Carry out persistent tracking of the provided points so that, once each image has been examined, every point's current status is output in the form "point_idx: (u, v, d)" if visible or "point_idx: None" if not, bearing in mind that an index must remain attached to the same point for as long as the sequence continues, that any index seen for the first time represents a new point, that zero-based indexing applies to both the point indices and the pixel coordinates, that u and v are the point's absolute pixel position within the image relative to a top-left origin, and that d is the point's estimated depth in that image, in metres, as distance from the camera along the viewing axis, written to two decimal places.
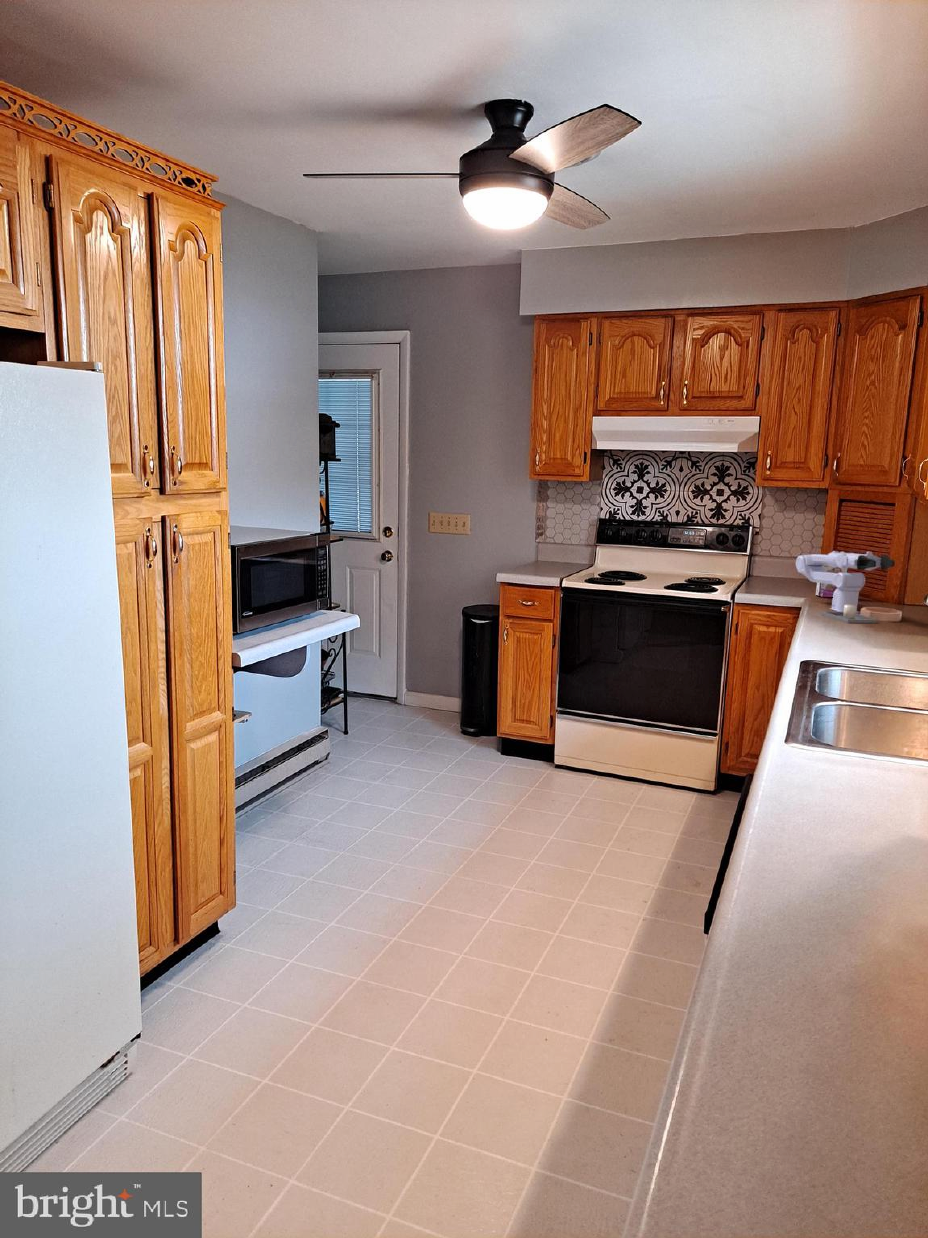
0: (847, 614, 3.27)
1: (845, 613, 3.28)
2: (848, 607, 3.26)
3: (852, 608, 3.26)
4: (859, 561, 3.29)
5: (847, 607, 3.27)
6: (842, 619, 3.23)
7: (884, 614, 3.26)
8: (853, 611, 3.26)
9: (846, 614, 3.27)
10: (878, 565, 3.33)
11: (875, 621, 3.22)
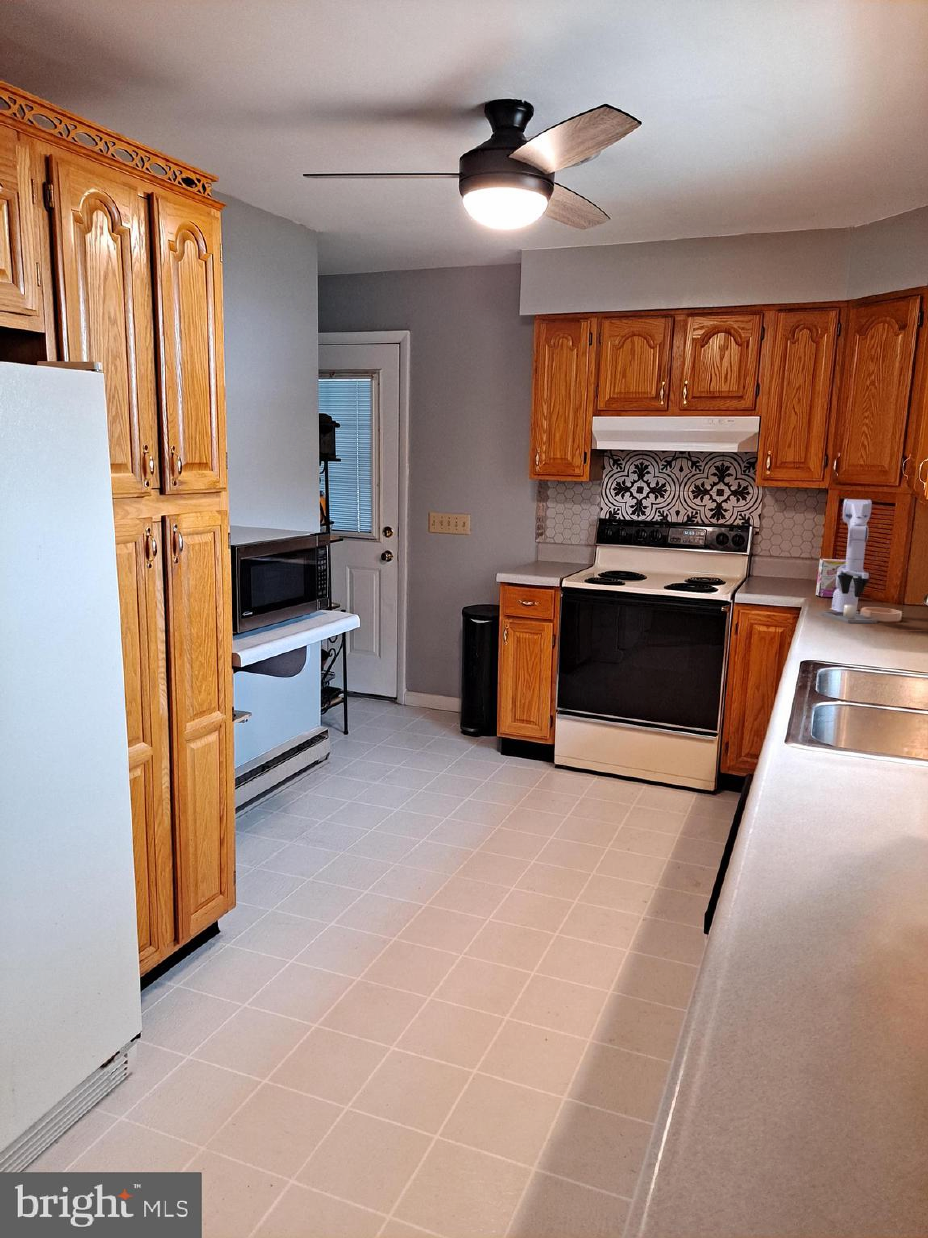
0: (847, 614, 3.27)
1: (845, 613, 3.28)
2: (848, 607, 3.26)
3: (852, 608, 3.26)
4: None
5: (847, 607, 3.27)
6: (842, 619, 3.23)
7: (884, 614, 3.26)
8: (853, 611, 3.26)
9: (846, 614, 3.27)
10: None
11: (875, 621, 3.22)
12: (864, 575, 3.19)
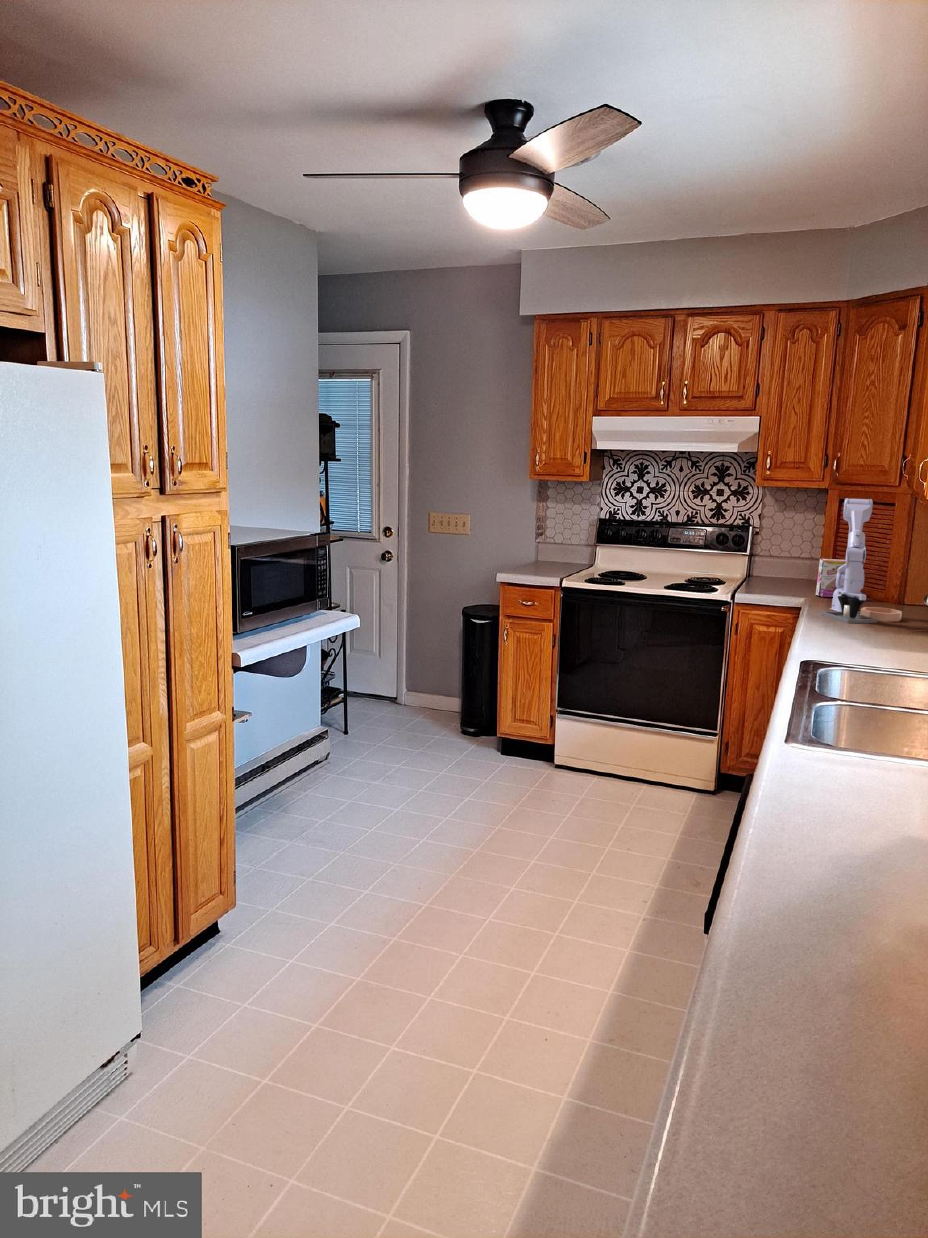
0: (847, 614, 3.27)
1: (845, 613, 3.28)
2: (848, 607, 3.26)
3: None
4: None
5: (847, 607, 3.27)
6: (842, 619, 3.23)
7: (884, 614, 3.26)
8: None
9: (846, 614, 3.27)
10: None
11: (875, 621, 3.22)
12: (862, 597, 3.20)
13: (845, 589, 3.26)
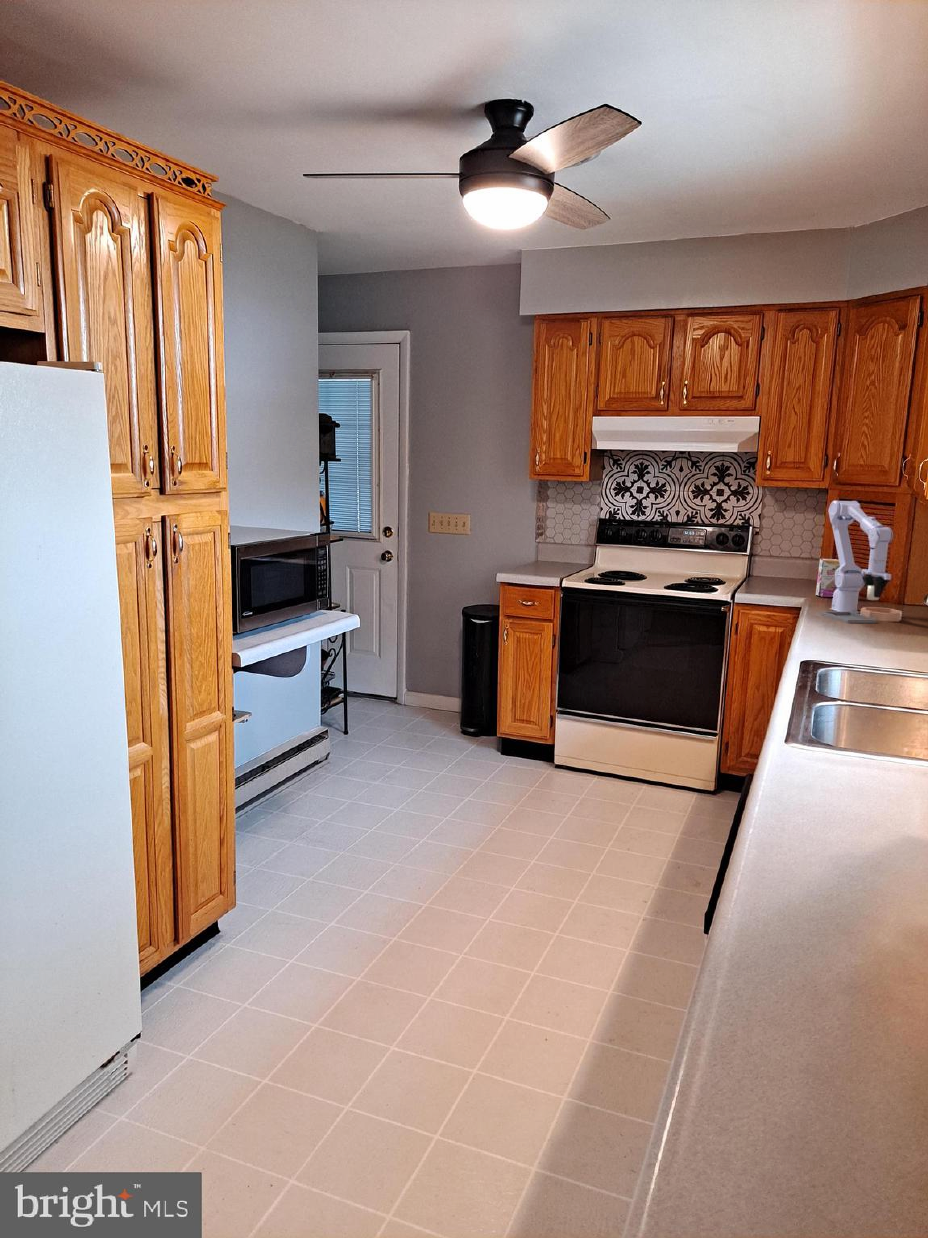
0: (871, 595, 3.28)
1: (868, 594, 3.29)
2: (872, 587, 3.28)
3: None
4: None
5: (871, 588, 3.28)
6: (842, 619, 3.23)
7: (884, 614, 3.26)
8: None
9: (870, 594, 3.28)
10: None
11: (875, 621, 3.22)
12: (886, 576, 3.21)
13: (870, 569, 3.27)
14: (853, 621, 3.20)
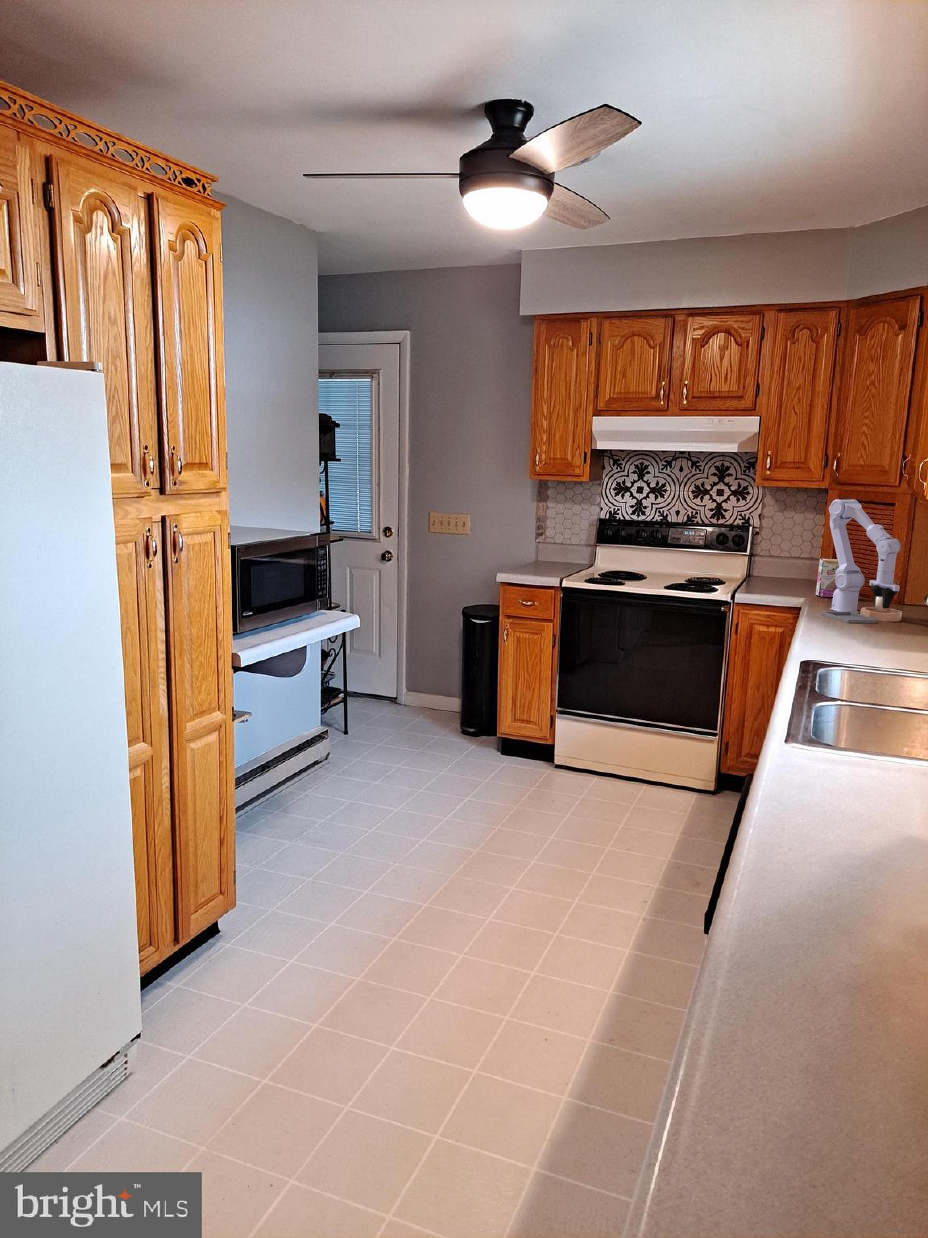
0: (879, 606, 3.30)
1: (877, 605, 3.31)
2: (880, 599, 3.30)
3: None
4: None
5: (879, 599, 3.30)
6: (842, 619, 3.23)
7: (884, 614, 3.26)
8: None
9: (878, 606, 3.30)
10: None
11: (875, 621, 3.22)
12: (895, 587, 3.23)
13: (878, 580, 3.29)
14: (853, 621, 3.20)
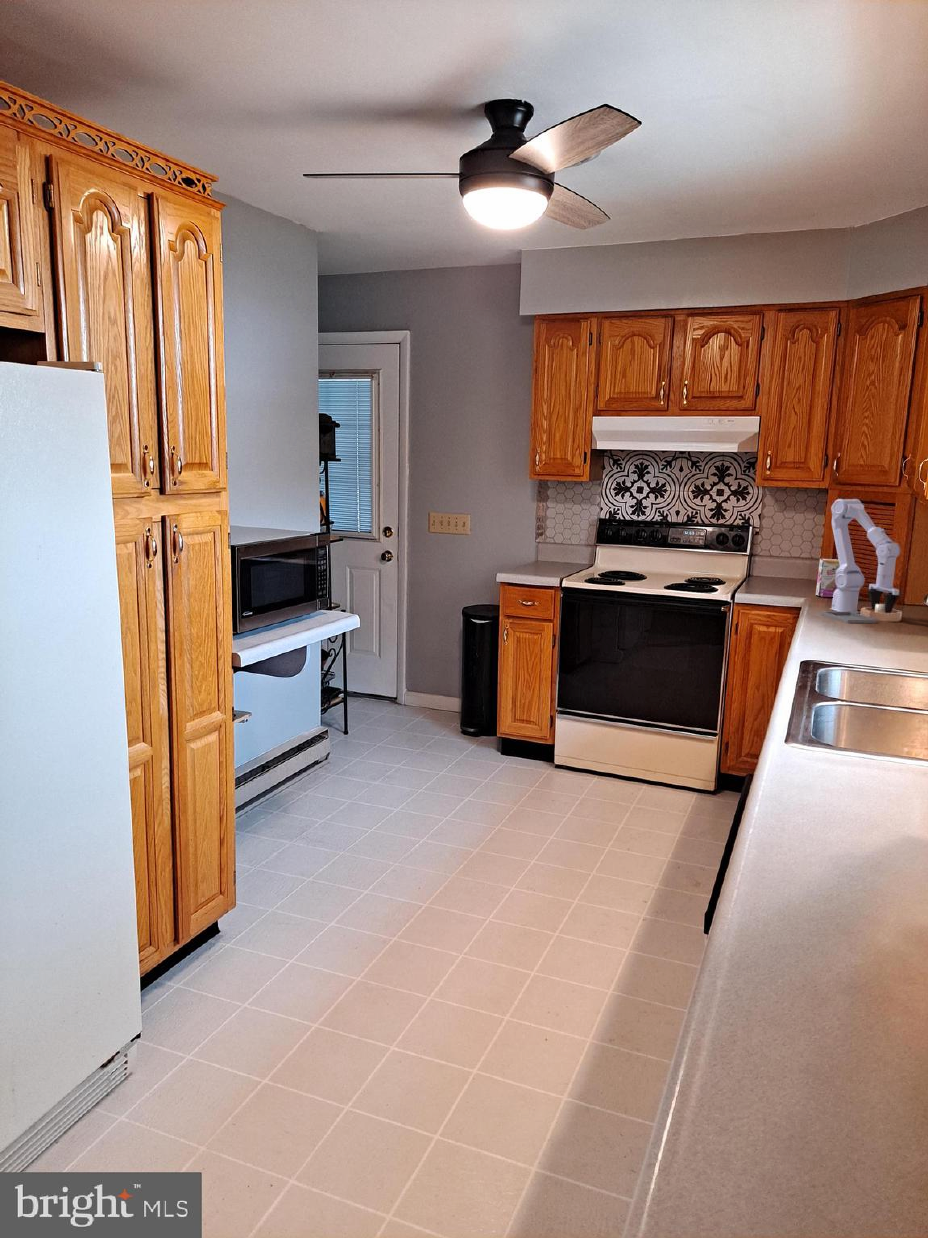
0: None
1: None
2: (879, 606, 3.30)
3: (883, 607, 3.30)
4: None
5: (878, 606, 3.30)
6: (842, 619, 3.23)
7: (884, 614, 3.26)
8: (884, 610, 3.30)
9: None
10: None
11: (875, 621, 3.22)
12: (895, 591, 3.23)
13: (878, 584, 3.29)
14: (853, 621, 3.20)
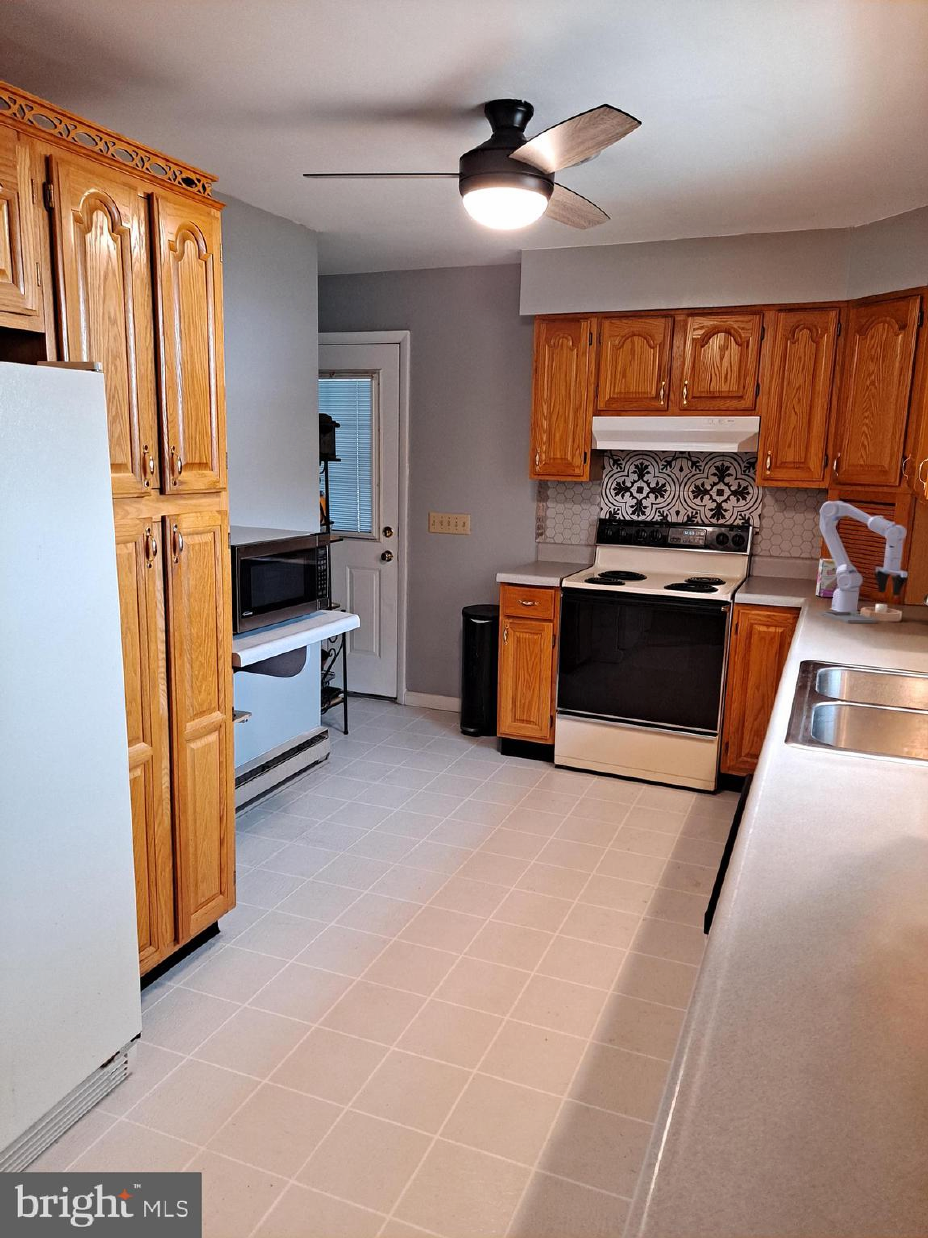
0: None
1: None
2: (879, 606, 3.30)
3: (883, 607, 3.30)
4: None
5: (878, 606, 3.30)
6: (842, 619, 3.23)
7: (884, 614, 3.26)
8: (884, 610, 3.30)
9: None
10: None
11: (875, 621, 3.22)
12: (903, 574, 3.26)
13: (885, 567, 3.31)
14: (853, 621, 3.20)
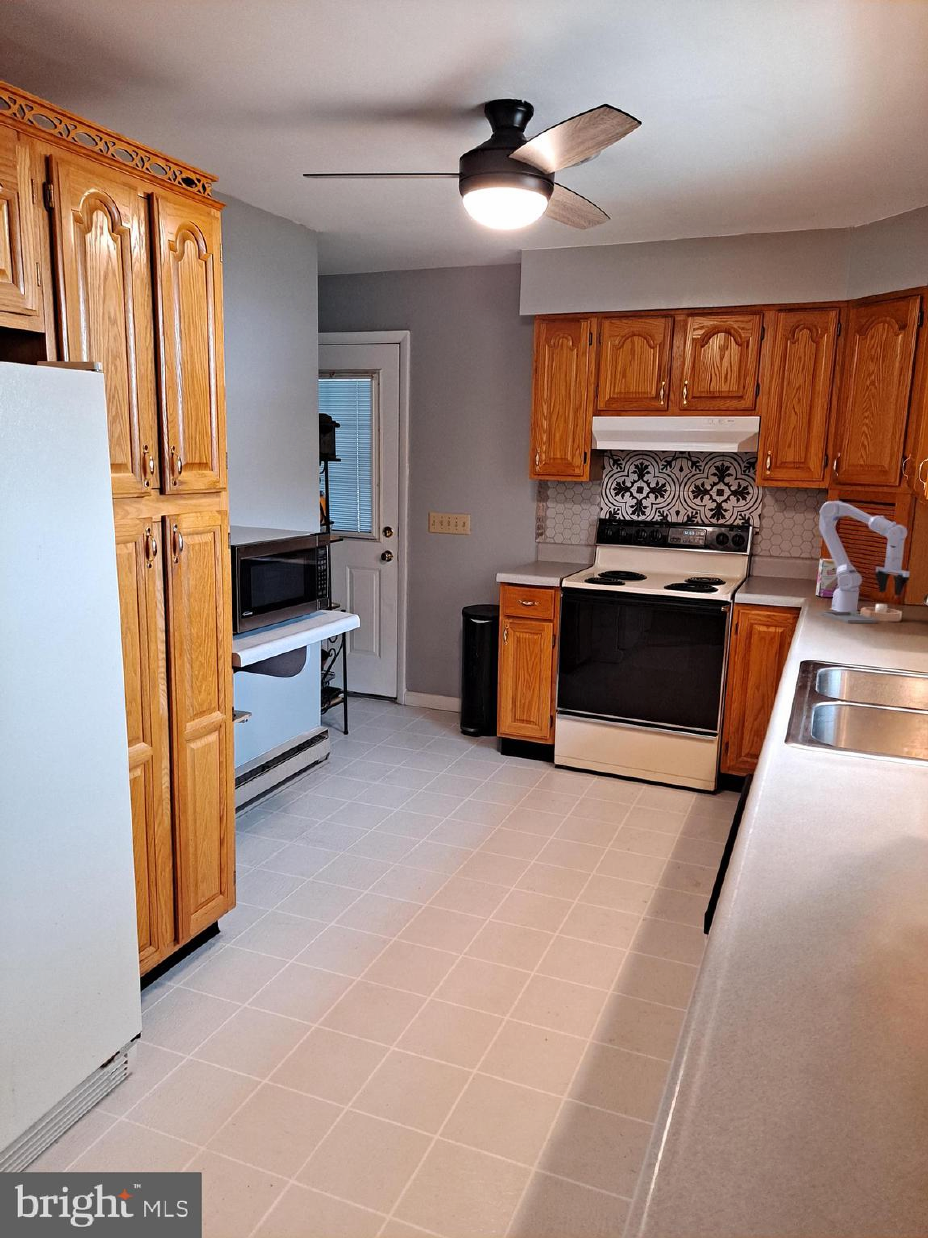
0: None
1: None
2: (879, 606, 3.30)
3: (883, 607, 3.30)
4: None
5: (878, 606, 3.30)
6: (842, 619, 3.23)
7: (884, 614, 3.26)
8: (884, 610, 3.30)
9: None
10: None
11: (875, 621, 3.22)
12: (905, 573, 3.26)
13: (887, 566, 3.32)
14: (853, 621, 3.20)
